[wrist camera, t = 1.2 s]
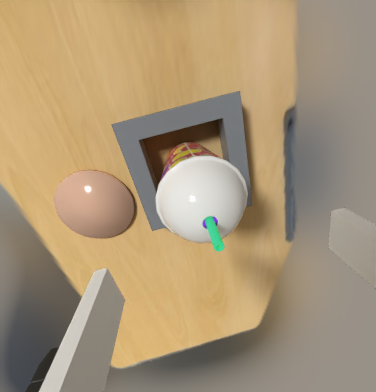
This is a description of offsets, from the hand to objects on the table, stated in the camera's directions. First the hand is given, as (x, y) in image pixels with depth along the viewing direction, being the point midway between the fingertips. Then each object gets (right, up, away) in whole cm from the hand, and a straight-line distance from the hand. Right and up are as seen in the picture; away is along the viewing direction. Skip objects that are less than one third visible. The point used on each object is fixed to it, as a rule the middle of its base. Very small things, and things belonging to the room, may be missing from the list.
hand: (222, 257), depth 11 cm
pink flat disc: (-17, +2, +20) cm, 26 cm away
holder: (-2, +9, +18) cm, 21 cm away
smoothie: (-2, +9, +19) cm, 21 cm away
